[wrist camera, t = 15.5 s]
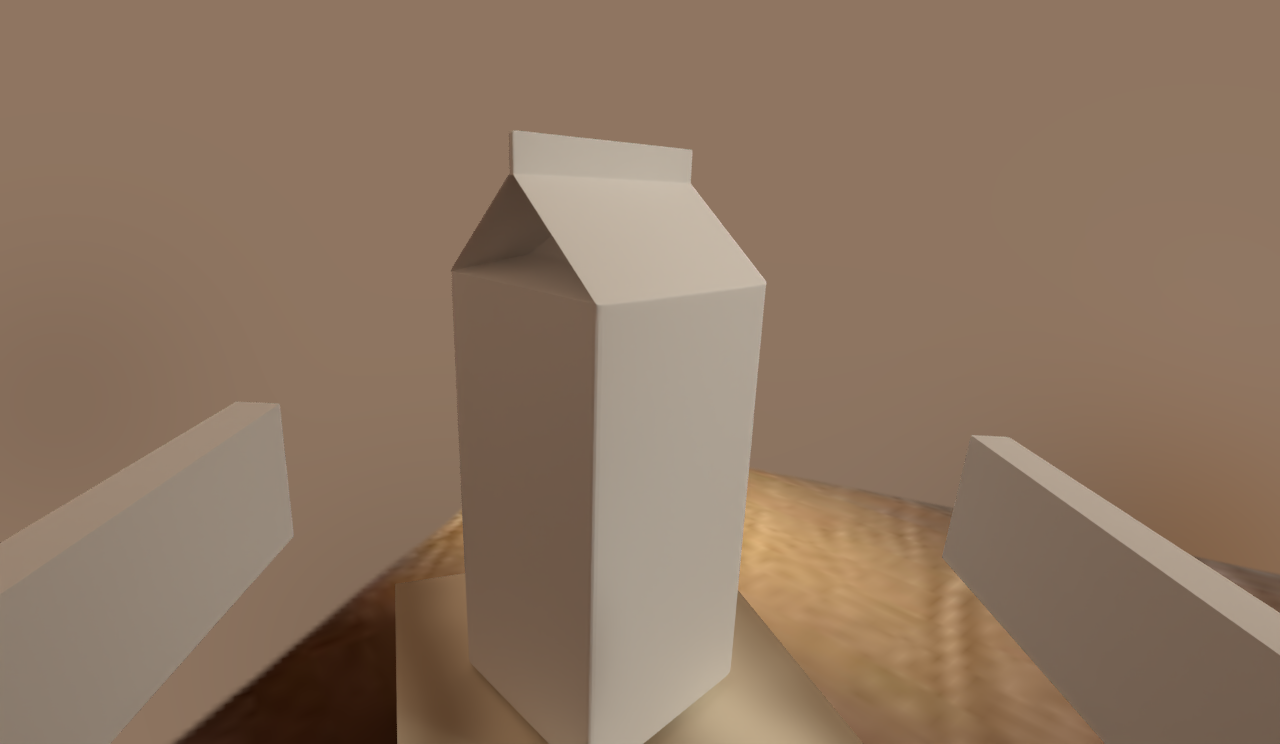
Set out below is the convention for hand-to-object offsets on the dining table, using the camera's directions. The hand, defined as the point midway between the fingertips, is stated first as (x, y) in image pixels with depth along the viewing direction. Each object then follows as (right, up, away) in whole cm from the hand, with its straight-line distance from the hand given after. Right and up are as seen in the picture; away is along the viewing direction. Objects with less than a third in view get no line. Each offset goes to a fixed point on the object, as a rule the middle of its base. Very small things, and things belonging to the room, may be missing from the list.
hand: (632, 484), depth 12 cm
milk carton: (-1, -9, +12) cm, 15 cm away
